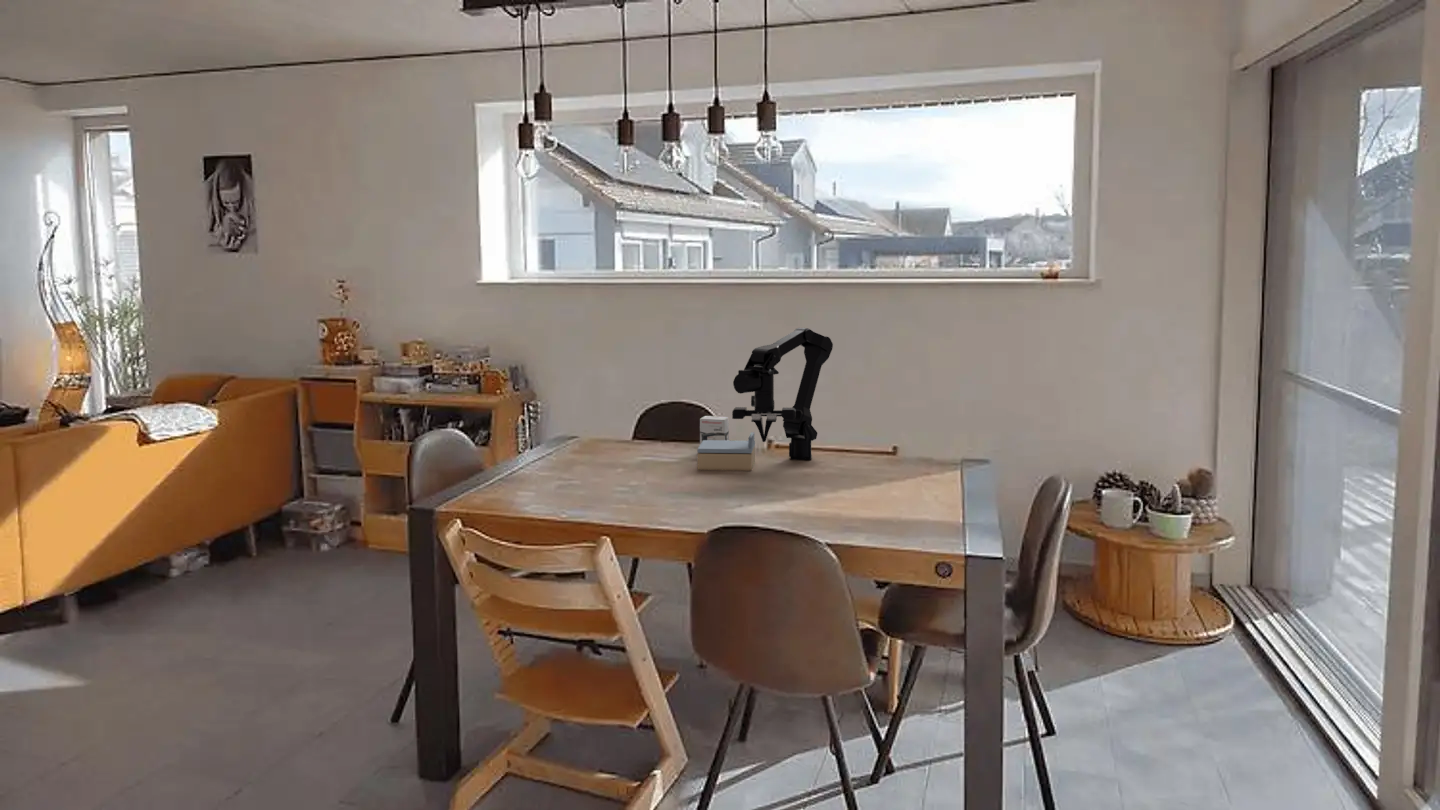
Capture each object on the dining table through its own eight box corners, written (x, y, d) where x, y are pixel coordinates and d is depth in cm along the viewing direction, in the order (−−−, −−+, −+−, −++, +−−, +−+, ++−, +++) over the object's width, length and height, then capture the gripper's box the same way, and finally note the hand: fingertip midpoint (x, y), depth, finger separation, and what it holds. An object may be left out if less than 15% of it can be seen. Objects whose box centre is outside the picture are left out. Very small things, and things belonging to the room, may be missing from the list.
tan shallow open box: (755, 461, 322) (754, 445, 322) (751, 470, 309) (751, 454, 308) (703, 460, 324) (703, 444, 323) (697, 470, 310) (697, 453, 310)
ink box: (699, 454, 335) (698, 418, 333) (704, 451, 339) (703, 415, 338) (724, 455, 332) (724, 419, 330) (729, 452, 337) (729, 416, 335)
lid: (754, 444, 322) (754, 431, 321) (751, 453, 308) (751, 439, 307) (703, 444, 323) (703, 430, 323) (697, 452, 310) (697, 438, 309)
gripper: (796, 386, 319) (796, 437, 321) (735, 386, 321) (735, 436, 323) (795, 391, 308) (794, 443, 310) (731, 391, 310) (732, 443, 312)
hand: (764, 441), depth 314 cm, fingers closed
